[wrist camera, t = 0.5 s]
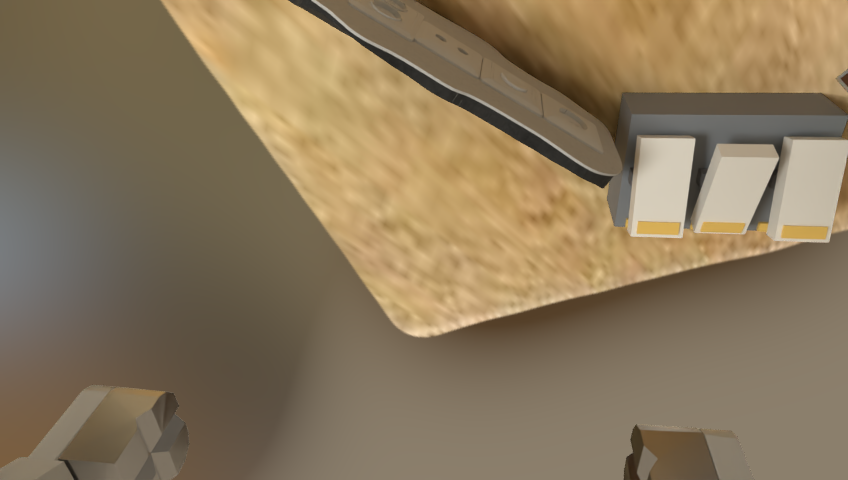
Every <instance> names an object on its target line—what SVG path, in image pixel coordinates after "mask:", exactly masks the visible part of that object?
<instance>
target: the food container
mask: <svg viewBox="0 0 848 480" xmlns="http://www.w3.org/2000/svg"><path fill="white" fill-rule="evenodd" d="M836 79H837V81H838V82H839V83H840V84H841V85H842V86H843V87H844V89H845V90H846V91H847V92H848V69H847V70H846V71H844V72H843V73H842V74H841V75H839V76H838V77H837V78H836Z"/></svg>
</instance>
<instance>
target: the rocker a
mask: <svg viewBox="0 0 848 480" xmlns="http://www.w3.org/2000/svg"><path fill="white" fill-rule="evenodd" d="M694 147H695V138H693V137H691V136H688V135H637V141H636V151H635V160H634V170H633V180H632V189H631V199H630V209H629V219H628V228H627V231H628V232H629V234H630V236H634V237H667V238H682V237H683V229H684V222H685V214H686V207H687V199H688V192H689V184H690V177H691V169H692V162H693V154H694Z"/></svg>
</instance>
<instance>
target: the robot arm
mask: <svg viewBox="0 0 848 480" xmlns="http://www.w3.org/2000/svg"><path fill="white" fill-rule="evenodd" d="M178 407H179V404H178V402H177V400H176V398H175V395H174V393H170V392H163V391H153V390H143V389H133V388H122V387H110V386H98V385H91V386H90V387H88V388H86V389H84V390H83V391H82V392H81V393H80V394H79V396H78V397H77V398H76V399H75V400H74V402H73V403H72V404H71V405H70V407H69V408H68V409H67V410H66V412H65V413H64V414H63V415H62V417H61V418H60V419H59V420H58V421H57V423H56V424H55V425H54V426H53V428H52V429H51V430H50V431H49V433H48V434H47V435H46V436H45V437H44V439H43V440H42V441H41V442H40V444H39V445H38V446H37V447H36V448H35V450H34V451H33V452H32V453H31V455H30V456H29V457H28V458H24V457H20V458H18V459H16V460H15V461H13V462H11V463H9V464H8V465H6V466H4V467H3V468H1V469H0V480H171V479H172V478H174V477H175V476H176V475H178V473H179V471H180V470H181V468H182V466H183V463H184V462H185V459H186V454H187V451H188V446H189V436H188V435H189V434H188V429H187V426H186V423H185V422H184V421H182V420H181V419H180V418H179V417H178V416H176V415H175V412H176V410H177V409H178ZM630 440H631V445H632V450H633V453H632V454H630V455H629V456H627V457H626V462H625V468H624V480H754V478H753V475H752V473H751V470H750V468H749V465H748V463H747V460H746V458H745V455H744V453H743V450H742V448H741V445H740V442H739V440H738V437H737V436H736V435H735V434H734V433H733V432H732V431H726V430H711V429H697V428H688V427H671V426H653V425H637V424H636V425H635V427H634V428H633V431H632V435H631V439H630Z"/></svg>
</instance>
